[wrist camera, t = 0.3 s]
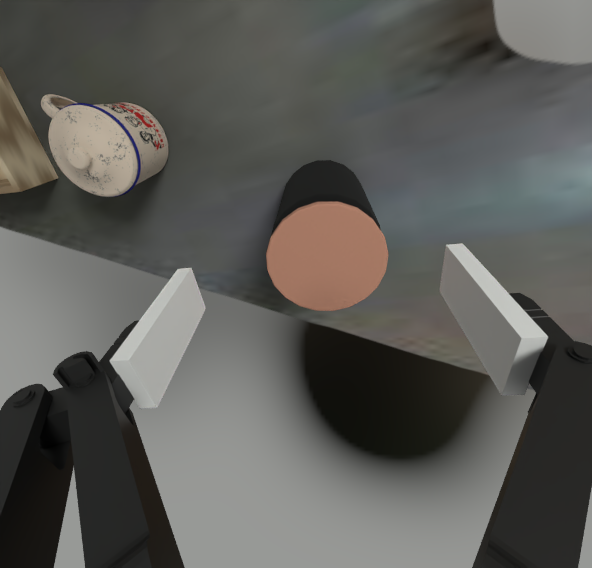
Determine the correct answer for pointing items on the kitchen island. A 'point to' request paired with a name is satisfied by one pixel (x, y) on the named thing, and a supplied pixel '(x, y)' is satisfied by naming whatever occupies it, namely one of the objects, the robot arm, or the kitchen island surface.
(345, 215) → the coffee jar
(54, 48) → the kitchen island surface
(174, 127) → the kitchen island surface
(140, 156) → the teacup with lid
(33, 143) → the holder
